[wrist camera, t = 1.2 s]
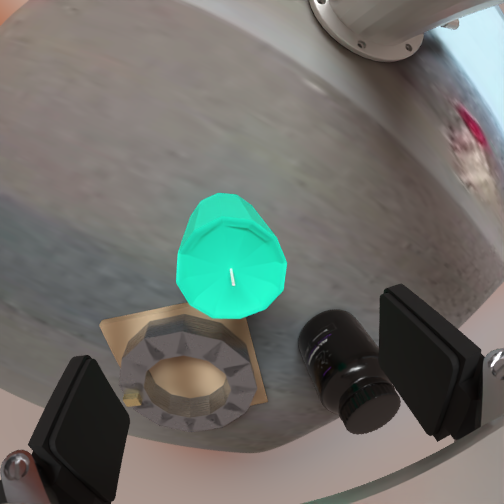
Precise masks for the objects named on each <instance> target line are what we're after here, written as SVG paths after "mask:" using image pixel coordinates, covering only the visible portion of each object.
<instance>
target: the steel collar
mask: <svg viewBox="0 0 504 504" xmlns="http://www.w3.org/2000/svg"><path fill="white" fill-rule="evenodd" d="M183 355H184V356H188V357H193V358H197V359H202V360H206V361H209V362H210V363H211V364H213V365H214V366H215V367H217V368H218V369H219V370H221V371H222V372H223V373H225V375H226V379H225V382H224V385H223V386H221V387H220V388H219V389H217V390H216V391H214V392H213V393H211V394H210V395H207V396H201V397H195V398H187V397H182V396H177V395H173V394H170V393H169V392H167V391H166V390H164V389H163V388H161V387H160V386H159V385H157V384H156V383H155V381H154V379H153V377H152V375H151V373H150V371H149V369H150V368H151V367H152V366H154V365H155V364H156V363H157V362H158V361H160V360H161V359H167V358H173V357H178V356H183ZM121 360H122V361H121V370H120V380H119V386H120V388H121V390H122V391H123V393H124V397H123V401H124V403H125V404H126V406H127V407H129V406H132V408H133V409H134V410H135V411H137V412H138V413H140V414H142V415H143V416H145V417H146V418H148V419H149V420H151V421H153V422H154V423H156V424H158V425H159V426H163V427H168V428H172V429H177V430H182V431H188V432H196V431H203V430H209V429H215V428H221V427H224V426H225V425H227V424H228V423H230V422H232V421H233V420H235V419H236V418H238V417H240V416H241V415H243V414H244V413H246V412H247V410H248V408H249V406H250V404H251V401H252V399H253V397H254V395H255V393H256V391H257V384H256V380H255V375H254V370H253V367H252V363H251V360H250V356H249V353H248V349H247V345H246V343H244V342H243V341H242V340H241V339H240V338H238V337H237V336H236V335H235V334H234V333H233V332H231V331H230V330H229V329H228V328H227V327H225V326H224V325H223V324H222V323H220V322H216V321H212V320H207V319H203V318H199V317H195V316H191V315H187V314H182V315H177V316H172V317H167V318H163V319H158V320H153V321H149V322H148V323H147V324H146V325H145V326H144V327H143V328H142V329H141V330H140V331H139V332H138V333H137V334H136V335H135V336H134V337H132V338H131V339H130V340H129V341H128V344H127V346H126V349H125V351H124V354H123V357H122V359H121Z"/></svg>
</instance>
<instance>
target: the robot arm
mask: <svg viewBox="0 0 504 504" xmlns="http://www.w3.org/2000/svg"><path fill="white" fill-rule="evenodd" d="M309 2H310V6H311V8H312V10H313V12H314V14H315V17H316V18H317V20H318V21H319V22H320V24H321V25H322V27H323V28H324V29H325V30H326V31H327V32H328V33H329V34H330V35H331V36H332V37H333V38H334V39H335V40H336V41H338V42H339V43H340V44H341V45H342V46H344V47H346V48H347V49H349V50H350V51H352V52H354V53H356V54H358V55H360V56H362V57H364V58H368V59H371V60H374V61H381V62H396V61H399V60H402V59H405V58H407V57H409V56H411V55H413V54H414V53H415V52H416V51H417V50H418V49H419V47H420V45H421V44H422V41H423V37H424V33H425V32H427V31H429V30H431V29H434V28H436V27H439V26H441V27H444V28H449V29H453V30H456V29H457V28H458V27H459V20H458V19H459V18H461V17H464V16H467V15H469V14H472V13H475V12H478V11H481V10H484V9H487V8H490V7H493V6H496V5H499V4H502V3H504V0H309ZM378 361H379V365H380V367H381V369H382V370H383V372H384V373H385V375H386V376H387V377H388V379H389V380H390V382H391V383H392V384H393V386H394V387H395V389H396V390H397V391H398V393H399V394H400V396H401V397H402V398H403V400H404V401H405V403H406V404H407V406H408V407H409V409H410V410H411V412H412V413H413V414H414V416H415V417H416V419H417V420H418V421H419V423H420V424H421V426H422V428H423V429H424V431H425V432H426V433H427V434H428V435H429V436H432V435H433V436H434V437H435V439H436V440H437V442H438V441H440V440H441V439H443V438H445V437H447V436H449V435H451V436H452V437H453V439H455V441H454V443H453V444H451V445H449V446H447V447H445V448H443V449H441V450H440V451H438V452H436V453H434V454H432V455H430V456H428V457H426V458H424V459H422V460H420V461H418V462H416V463H414V464H411V465H409V466H407V467H405V468H403V469H401V470H399V471H396V472H394V473H392V474H389V475H387V476H385V477H382V478H380V479H377V480H375V481H372V482H369V483H367V484H364V485H361V486H359V487H356V488H353V489H350V490H347V491H344V492H341V493H338V494H335V495H332V496H328V497H325V498H321V499H317V500H314V501H310V502H306V503H303V504H504V348H502V349H496V350H493V351H491V352H490V353H488V354H487V355H486V357H484V356H483V355H482V354H481V349H480V348H479V347H478V346H476V345H475V344H474V343H473V342H472V341H471V340H470V339H468V338H467V337H466V336H465V335H463V333H462V332H460V331H459V330H458V329H457V328H456V327H454V326H453V325H452V324H451V323H450V322H449V321H447V320H446V319H445V318H444V317H443V316H441V315H440V314H439V313H438V312H437V311H435V310H434V309H433V308H432V307H430V306H429V305H428V304H427V303H426V302H424V301H423V300H422V299H421V298H419V297H418V296H417V295H416V294H414V293H413V292H412V291H411V290H409V289H408V288H407V287H405V286H404V285H403V284H398V285H395V286H392V287H389V288H386V289H385V290H384V294H382V295H381V296H380V326H379V355H378ZM129 424H130V418H129V415H128V413H127V411H126V410H125V408H124V407H123V405H122V403H121V402H120V400H119V399H118V397H117V396H116V394H115V392H114V391H113V389H112V387H111V386H110V384H109V382H108V381H107V379H106V377H105V375H104V374H103V372H102V370H101V368H100V367H99V365H98V363H97V361H96V360H95V359H92V358H91V357H90V356H88V355H84V356H76V357H73V358H72V359H71V360H70V362H69V364H68V366H67V368H66V369H65V371H64V373H63V375H62V377H61V379H60V380H59V382H58V384H57V386H56V388H55V390H54V392H53V394H52V396H51V398H50V399H49V401H48V403H47V405H46V407H45V409H44V412H43V414H42V416H41V418H40V420H39V422H38V424H37V426H36V428H35V430H34V432H33V435H32V437H31V439H30V441H29V443H28V445H29V447H30V448H31V449H32V450H33V453H32V455H31V454H30V453H29V452H28V451H25V450H16V451H14V452H12V453H10V454H9V455H8V456H7V457H6V458H5V459H4V461H3V462H2V465H1V468H0V474H1V480H0V504H111V501H114V499H115V496H116V490H117V484H118V478H119V473H120V468H121V462H122V457H123V453H124V447H125V443H126V438H127V433H128V429H129Z"/></svg>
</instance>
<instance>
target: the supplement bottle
mask: <svg viewBox="0 0 504 504" xmlns="http://www.w3.org/2000/svg"><path fill="white" fill-rule="evenodd" d="M299 350H300V353H301V355H302V358H303V360H304V363H305V365H306V367H307V370H308V372H309V375H310V377H311V379H312V382H313V384H314V387H315V389H316V391H317V394H318V396H319V399H320V401H321V403H322V405H323V406H324V407H325V408H326V409H327V410H328V411H330V412H332V413H334V414H337V415H339V416H340V418H341V420H342V421H343V423H344V425H345V427H346V429H347V430H348V431H349V432H351V433H353V434H364V433H369V432H372V431H374V430H377V429H378V428H380V427H382V426H383V425H385V424H386V423H387V422H389V421H390V420H391V419H392V417H394V416H395V414H396V413H397V411H398V409H399V407H400V402H401V401H400V397H399V396H398V394H397V393H396V391H395V388H394V386H393V385H392V384H391V382H390V380H389V379H388V377H387V376H386V375H385V373H384V372H383V370H382V369H381V367H380V365H379V361H378V355H379V347H378V346H377V345H376V343H375V342H374V341H373V339H372V338H371V337H370V336H369V334H368V333H367V332H366V330H365V329H364V328H363V327H362V325H361V324H360V323H359V322H358V320H357V319H356V318H355V317H354V316H353V315H352V314H350V313H349V312H346V311H344V310H328V311H324V312H322V313H320V314H318V315H316V316H315V317H313V318H312V319H311V320H310V321H308V323H307V324H306V325H305V326H304V328H303V329H302V331H301V334H300V336H299Z"/></svg>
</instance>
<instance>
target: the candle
mask: <svg viewBox="0 0 504 504" xmlns="http://www.w3.org/2000/svg"><path fill="white" fill-rule="evenodd" d="M286 268H287V261H286V259H285V256H284V254H283V251H282V249H281V246H280V244H279V242H278V239H277V237H276V236H275V235H274V233H273V232H272V231H271V229H270V228H269V227H268V226H267V224H266V223H265V222H264V220H263V219H262V218H261V217H260V215H259V214H258V213H257V211H256V210H255V209H254V208H253V206H252V205H251V204H249V203H248V202H246V201H245V200H244V199H242V198H241V197H239V196H238V195H236V194H225V193H217V194H215V195H212V196H210V197H208V198H206V199H204V200H202V201H201V202H200V203H199V204H198V206H197V207H196V209H195V210H194V212H193V213H192V214H191V216H190V219H189V222H188V225H187V227H186V230H185V233H184V236H183V239H182V242H181V245H180V248H179V251H178V258H177V275H176V283H177V285H178V287H179V288H180V290H181V292H182V293H183V295H184V297H185V298H186V300H187V302H188V303H189V305H190V306H192V307H194V308H195V309H197V310H199V311H201V312H202V313H204V314H206V315H208V316H209V317H211V318H213V319H241V318H244V317H247V316H249V315H252V314H255V313H257V312H260V311H263V310H265V309H266V308H267V307H268V306H269V305H270V304H271V303H272V302H273V301H274V300H275V299H276V298H277V297H278V296H279V295H280V294H281V293H282V291H283V290H284V283H285V275H286Z"/></svg>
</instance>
